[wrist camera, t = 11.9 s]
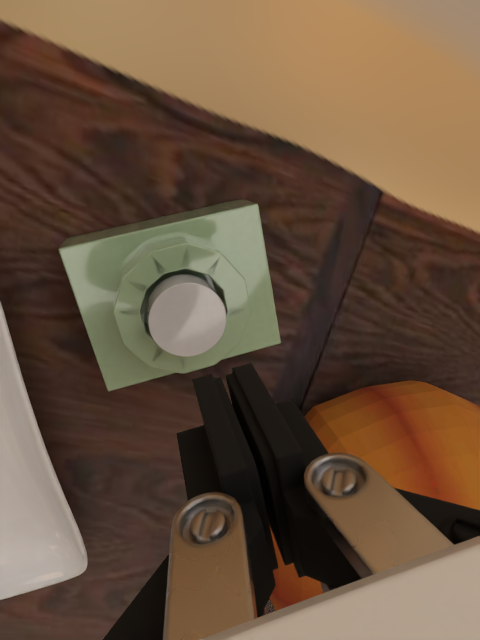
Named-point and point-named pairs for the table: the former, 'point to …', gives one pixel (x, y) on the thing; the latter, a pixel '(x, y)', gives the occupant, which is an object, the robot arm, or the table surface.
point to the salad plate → (30, 494)
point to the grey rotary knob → (185, 315)
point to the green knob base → (163, 262)
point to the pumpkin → (396, 451)
